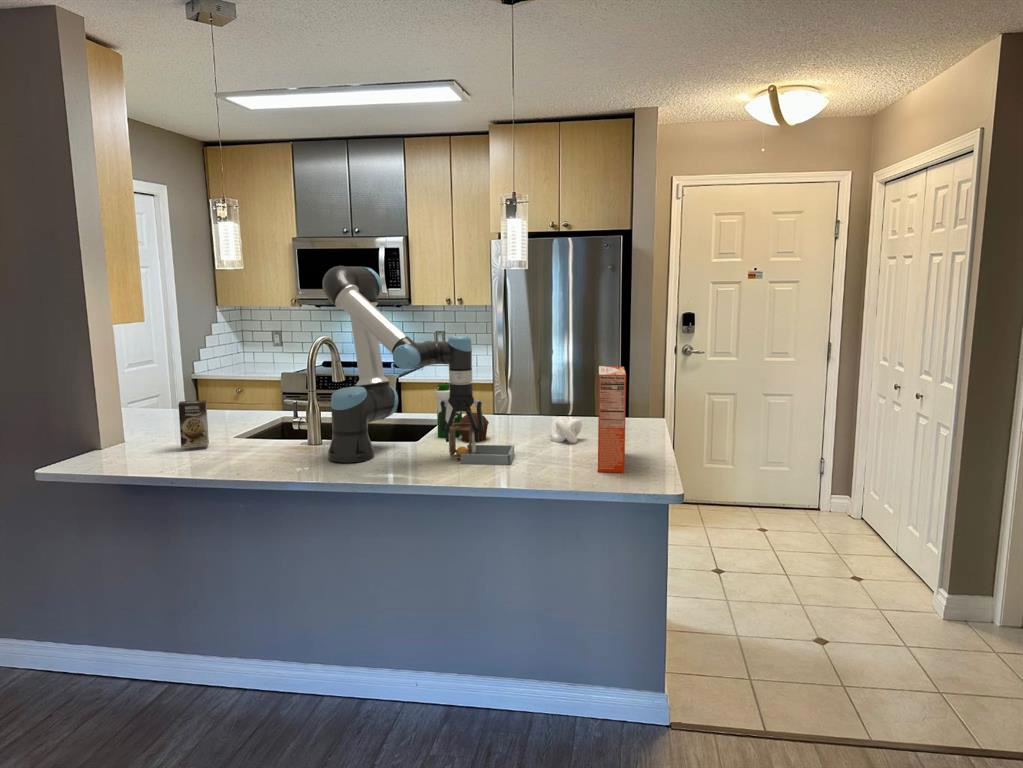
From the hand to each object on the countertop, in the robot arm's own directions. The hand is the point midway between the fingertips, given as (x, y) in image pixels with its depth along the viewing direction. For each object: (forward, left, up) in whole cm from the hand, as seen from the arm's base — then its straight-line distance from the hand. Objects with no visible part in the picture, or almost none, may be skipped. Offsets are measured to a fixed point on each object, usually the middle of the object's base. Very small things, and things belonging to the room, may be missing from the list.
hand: (462, 451), depth 223 cm
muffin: (0, +28, -3) cm, 28 cm away
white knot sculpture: (+35, +27, -3) cm, 44 cm away
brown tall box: (-100, +12, -3) cm, 101 cm away
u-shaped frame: (+9, 0, -2) cm, 9 cm away
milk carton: (-10, +33, -3) cm, 35 cm away
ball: (0, 0, 0) cm, 0 cm away
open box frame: (0, 0, -1) cm, 1 cm away
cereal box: (+49, -2, -3) cm, 49 cm away
